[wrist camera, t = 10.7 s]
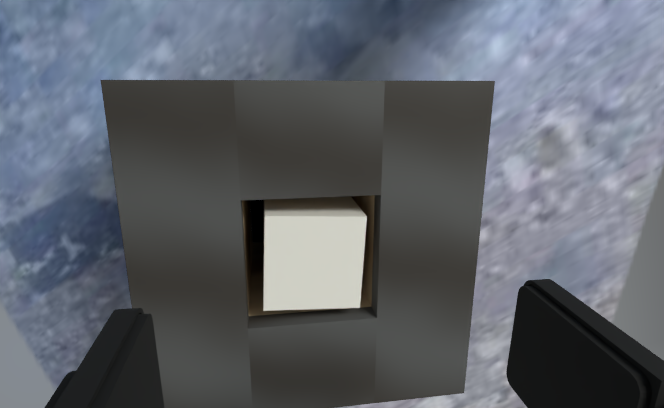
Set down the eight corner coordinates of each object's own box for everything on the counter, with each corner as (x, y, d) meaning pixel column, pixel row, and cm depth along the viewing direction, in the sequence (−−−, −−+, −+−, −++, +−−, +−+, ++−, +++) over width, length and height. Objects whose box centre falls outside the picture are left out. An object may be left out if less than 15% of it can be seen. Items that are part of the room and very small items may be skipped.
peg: (263, 167, 26) (264, 216, 16) (329, 169, 27) (366, 216, 17) (262, 230, 27) (263, 310, 17) (326, 230, 28) (360, 307, 18)
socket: (165, 81, 24) (100, 80, 14) (409, 82, 26) (494, 81, 16) (187, 309, 28) (148, 428, 18) (399, 293, 30) (463, 392, 20)
